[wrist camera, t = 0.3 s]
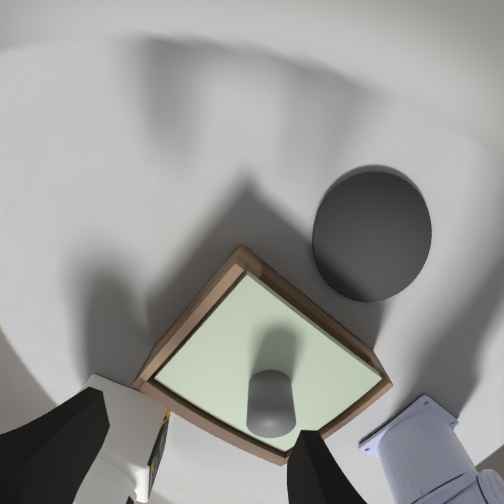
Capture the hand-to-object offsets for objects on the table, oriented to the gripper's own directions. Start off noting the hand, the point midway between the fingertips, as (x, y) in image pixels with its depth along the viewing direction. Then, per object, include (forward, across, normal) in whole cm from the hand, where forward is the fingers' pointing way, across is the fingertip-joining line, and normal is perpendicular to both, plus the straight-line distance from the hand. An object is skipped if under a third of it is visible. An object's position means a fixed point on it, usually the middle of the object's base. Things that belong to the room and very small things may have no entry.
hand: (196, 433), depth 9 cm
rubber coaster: (+10, -8, -6) cm, 14 cm away
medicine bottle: (+10, +7, +12) cm, 17 cm away
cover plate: (+7, -3, +2) cm, 8 cm away
